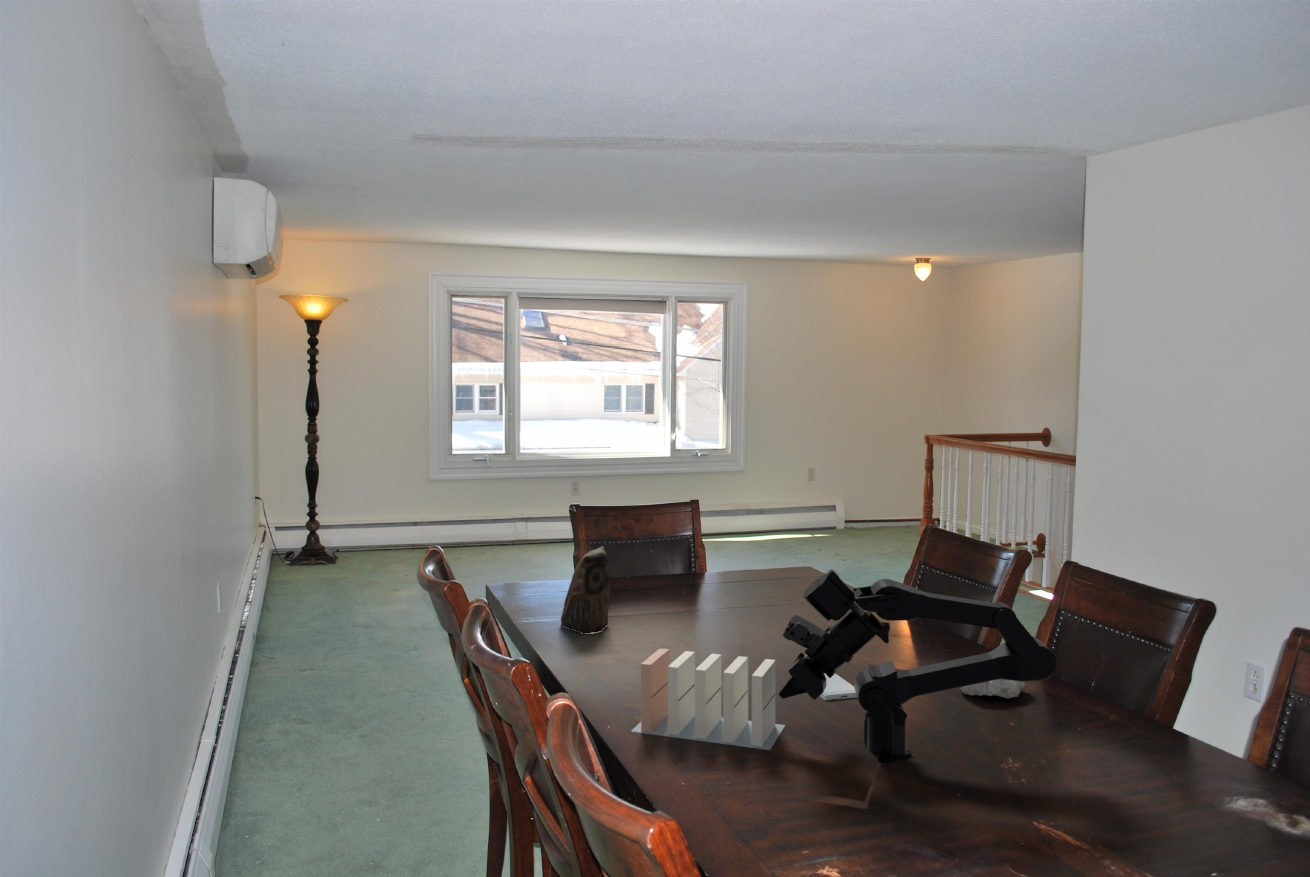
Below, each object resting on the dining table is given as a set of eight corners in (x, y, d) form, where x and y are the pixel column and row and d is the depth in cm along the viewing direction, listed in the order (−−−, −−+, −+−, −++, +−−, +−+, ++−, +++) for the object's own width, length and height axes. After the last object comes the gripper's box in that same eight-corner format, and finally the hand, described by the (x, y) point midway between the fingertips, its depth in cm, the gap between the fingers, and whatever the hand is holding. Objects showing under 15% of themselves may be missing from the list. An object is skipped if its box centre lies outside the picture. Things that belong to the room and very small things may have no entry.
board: (785, 729, 171) (785, 725, 171) (769, 754, 159) (769, 749, 159) (654, 713, 179) (654, 708, 179) (630, 735, 168) (630, 731, 168)
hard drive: (799, 675, 198) (825, 694, 186) (835, 672, 200) (863, 691, 188) (799, 683, 198) (825, 703, 186) (835, 680, 200) (863, 699, 188)
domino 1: (669, 712, 177) (669, 649, 176) (650, 731, 168) (650, 664, 167) (660, 711, 178) (659, 648, 177) (641, 730, 168) (640, 663, 167)
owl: (604, 620, 248) (604, 543, 246) (624, 631, 236) (624, 551, 235) (559, 625, 242) (558, 547, 241) (577, 638, 231) (576, 556, 229)
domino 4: (748, 722, 172) (748, 657, 171) (733, 742, 162) (733, 673, 162) (738, 721, 172) (738, 656, 172) (723, 741, 163) (723, 672, 162)
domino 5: (775, 725, 170) (775, 659, 169) (762, 746, 161) (762, 676, 160) (765, 724, 171) (765, 658, 170) (751, 745, 161) (751, 675, 161)
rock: (985, 694, 181) (972, 643, 186) (952, 707, 188) (940, 657, 193) (1041, 697, 187) (1027, 647, 192) (1007, 710, 194) (994, 661, 199)
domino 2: (695, 716, 175) (695, 651, 174) (677, 735, 166) (677, 667, 165) (685, 714, 176) (685, 650, 175) (667, 734, 167) (667, 666, 166)
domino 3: (721, 719, 174) (721, 654, 173) (705, 738, 164) (705, 670, 163) (711, 718, 174) (711, 653, 173) (695, 737, 165) (695, 669, 164)
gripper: (821, 590, 170) (760, 646, 174) (802, 615, 152) (735, 676, 157) (865, 637, 168) (803, 692, 172) (851, 668, 150) (782, 728, 155)
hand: (780, 696), depth 164 cm, fingers closed
